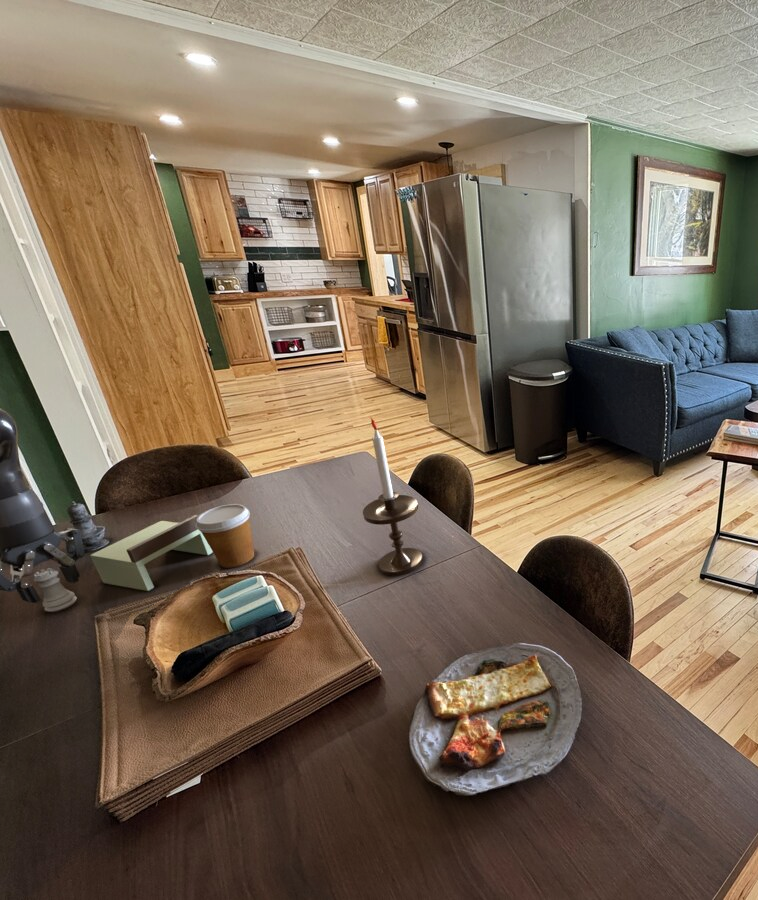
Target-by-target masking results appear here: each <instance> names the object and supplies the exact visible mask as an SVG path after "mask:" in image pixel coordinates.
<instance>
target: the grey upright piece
mask: <svg viewBox="0 0 758 900" xmlns="http://www.w3.org/2000/svg"><path fill="white" fill-rule="evenodd" d="M70 504H71V505H69V506H68V507H67V508H66V512H67V514H68V516H69V518H70V520H69V521H68V522H69V524H72V525H73V529H78V530H80V531H81V537H82V543H83V548H84V553H88V552H92V551H93V552H94V551H97V550H99V549H101V548H103V547H105V546H107V545H108V544H109V543H110V540H109V539H107V538H104V537H105V531H106V528H105V526H104V525H103V526H102V525H95V524H94V522H93V520H92V517H93V516H92V514H89V512H88V510H87V508H86V506H85V505H84V504H82V503H76V502H75V501H72V500H71V502H70Z"/></svg>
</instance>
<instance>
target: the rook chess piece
mask: <svg viewBox="0 0 758 900" xmlns="http://www.w3.org/2000/svg"><path fill="white" fill-rule="evenodd" d="M58 575H59V571H58V570H55V569H54V568H51V567H48V568H47V569H46V570H45V569H44V568H43V569H40V572H39V571H36V572H35V573H34V575H33V576H34V578H33V582H35V583H39V585H38V587H39V588H41V589H42V592H43V602H42V607H43V608H44V611H45V612H49V613H55V612H59V611H63V610H65V609H68V608H69V607H71V606H73V605H74V604H75V603H76V601H77V599H78V597H77V596H76V595H75V593H74V591H70V590H69V589H66V588H65V587H64V585H63V584H62V583H61V578H60V577H57V576H58Z"/></svg>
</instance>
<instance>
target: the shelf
mask: <svg viewBox="0 0 758 900" xmlns="http://www.w3.org/2000/svg"><path fill="white" fill-rule="evenodd" d="M199 515H200V514H194V515H192V516H190V517H188V518H186V519H184V520H182V521H180V522H173V521H167V520H160V521H157V522H155V523H153V524H151V525H149V526H147V527H145V528H144V529H141V530H139V531H137V532H135V533H132V534H131V535H129V536H126V537H125V538H122V539H121V540H118V541H116V542H114V543H112V544H110V545H108V546H106V547H104V548H102V549H100V550H98V551H96V552H93V553H91V554H90V555H89V557H90V558H91V561H92V562H93V565H94V566H95V568H96V571H97V574H98V575H99V577H100V579H101V581H102V583H103V584H107V585H113V586H119V587H124V588H130V589H135V590H140V591H146V592H150V591H151V590H153V589H154V588H155V585H154V584H153V581H152V579H151V577H150V574H149V573H148V570H147V568H146V566H145V565H146V564H148V563H149V562H152V560H155V559H156V558H158V557H160V556H162V555H164V554H166V553H168V552H169V551H171V550H172V551H178V552H185V553H191V554H198V555H203V556H209V555H211V554H212V553H213V551H212V549H211V548H210V546H209V544H208V543H207V541H206V539H205V538H204V536H203V534H202V532H201V531H199V530H198V529H197V528H196V523H197V517H198V516H199ZM213 554H214V553H213Z"/></svg>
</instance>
